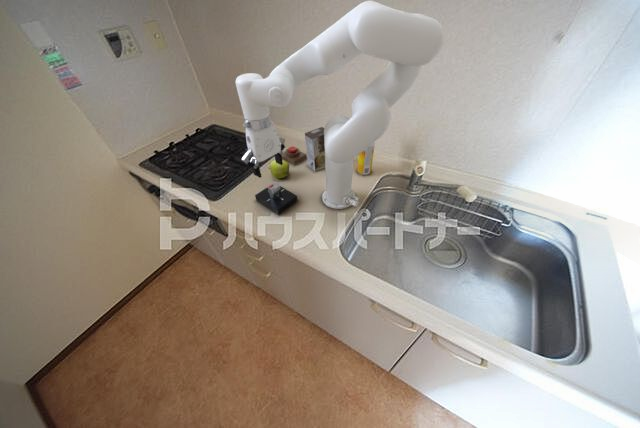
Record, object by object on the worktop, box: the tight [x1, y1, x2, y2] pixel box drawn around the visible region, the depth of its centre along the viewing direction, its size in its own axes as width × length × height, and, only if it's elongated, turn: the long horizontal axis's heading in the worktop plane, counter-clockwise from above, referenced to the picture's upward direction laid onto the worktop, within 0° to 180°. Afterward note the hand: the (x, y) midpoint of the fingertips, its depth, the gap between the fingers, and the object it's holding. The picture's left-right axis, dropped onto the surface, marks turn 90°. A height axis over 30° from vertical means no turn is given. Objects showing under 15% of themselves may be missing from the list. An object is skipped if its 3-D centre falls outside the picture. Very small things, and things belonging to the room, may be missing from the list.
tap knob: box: [266, 180, 281, 199], centre depth 89 cm, size 4×4×5 cm
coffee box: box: [304, 126, 325, 173], centre depth 104 cm, size 9×6×16 cm
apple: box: [268, 159, 290, 179], centre depth 102 cm, size 8×9×8 cm
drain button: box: [287, 146, 297, 153], centre depth 111 cm, size 4×4×2 cm
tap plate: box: [254, 185, 298, 216], centre depth 92 cm, size 13×10×3 cm
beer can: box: [356, 141, 376, 176], centre depth 99 cm, size 6×6×15 cm
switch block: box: [281, 147, 307, 166], centre depth 113 cm, size 10×8×4 cm
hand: (269, 169), depth 83 cm, fingers open, 9 cm apart
